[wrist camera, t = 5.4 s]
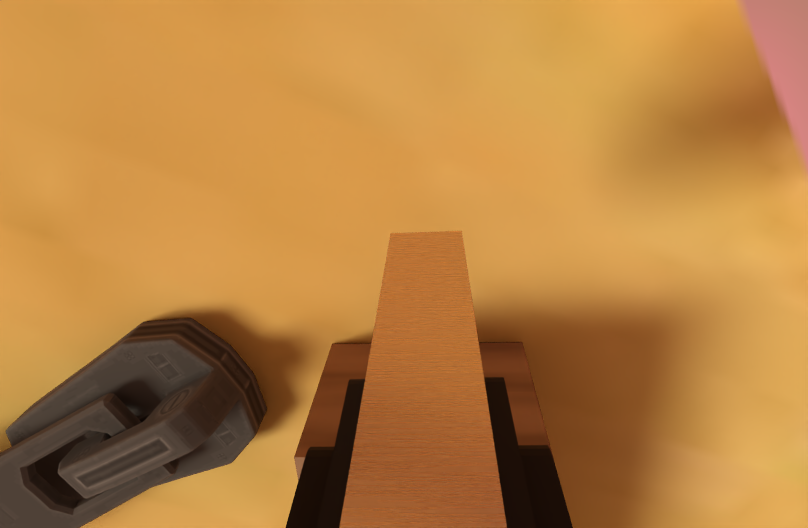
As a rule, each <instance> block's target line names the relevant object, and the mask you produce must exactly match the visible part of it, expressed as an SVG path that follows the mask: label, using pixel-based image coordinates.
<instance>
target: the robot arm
mask: <svg viewBox="0 0 808 528" xmlns="http://www.w3.org/2000/svg"><path fill="white" fill-rule="evenodd" d="M484 381H485V387H486V394H487V401H488V407H489V414H490V420H491V427H492V433H493V440H494V446H495V453H496V459H497V466H498V472H499V479H500V486H501V492H502V499H503V505H504V512H505V518H506V525H507V528H573V527H572V523H571V520H570V516H569V513H568V509H567V506H566V502H565V499H564V495H563V492H562V488H561V485H560V481H559V478H558V474H557V470H556V467H555V463H554V460H553V456H552V453H551V450H550V448H549V447H548V445H518V441H517V436H516V431H515V427H514V422H513V417H512V412H511V408H510V403H509V398H508V394H507V389H506V384H505V380H504V377H484ZM364 383H365V379H350V380H349V382H348V386H347V390H346V395H345V400H344V404H343V409H342V414H341V418H340V423H339V427H338V432H337V437H336V441H335V446H332V447H310V448H309V449H308V451H307V453H306V456H305V460H304V463H303V467H302V470H301V474H300V478H299V481H298V485H297V489H296V492H295V496H294V499H293V503H292V507H291V510H290V514H289V517H288V521H287V525H286V528H339V527H340V521H341V515H342V510H343V504H344V498H345V492H346V487H347V481H348V475H349V470H350V464H351V458H352V452H353V447H354V441H355V435H356V429H357V424H358V418H359V412H360V406H361V401H362V395H363V389H364Z"/></svg>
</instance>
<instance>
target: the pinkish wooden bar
mask: <svg viewBox="0 0 808 528" xmlns="http://www.w3.org/2000/svg"><path fill="white" fill-rule="evenodd" d="M339 528H507V525H506V518H505V512H504V505H503V499H502V492H501V486H500V479H499V472H498V466H497V459H496V453H495V446H494V440H493V433H492V427H491V420H490V414H489V407H488V401H487V394H486V387H485V381H484V374H483V368H482V361H481V355H480V348H479V342H478V335H477V329H476V322H475V316H474V309H473V303H472V296H471V289H470V283H469V276H468V270H467V263H466V257H465V250H464V244H463V237H462V231H445V232H415V233H391V234H390V240H389V246H388V251H387V257H386V263H385V269H384V274H383V280H382V286H381V292H380V297H379V303H378V309H377V315H376V320H375V326H374V332H373V338H372V343H371V349H370V355H369V361H368V366H367V372H366V378H365V383H364V389H363V395H362V401H361V406H360V412H359V418H358V424H357V429H356V435H355V441H354V447H353V452H352V458H351V464H350V470H349V475H348V481H347V487H346V492H345V498H344V504H343V510H342V515H341V521H340V527H339Z"/></svg>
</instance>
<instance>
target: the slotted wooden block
mask: <svg viewBox="0 0 808 528" xmlns="http://www.w3.org/2000/svg"><path fill="white" fill-rule="evenodd" d="M479 348H480V355H481V361H482V368H483V374H484V377H504V380H505V384H506V389H507V394H508V398H509V403H510V408H511V412H512V417H513V422H514V427H515V431H516V436H517V441H518V445H548V447H549V448H550V444H549V440H548V436H547V433H546V429H545V425H544V422H543V418H542V414H541V410H540V407H539V403H538V399H537V396H536V392H535V388H534V384H533V381H532V377H531V373H530V369H529V366H528V362H527V358H526V355H525V351H524V347H523V343H522V342H506V343H479ZM370 349H371V344H332V346H331V349H330V352H329V355H328V358H327V361H326V364H325V367H324V370H323V373H322V376H321V379H320V382H319V385H318V388H317V391H316V394H315V397H314V400H313V403H312V406H311V409H310V412H309V415H308V418H307V421H306V424H305V427H304V430H303V433H302V436H301V439H300V442H299V445H298V448H297V451H296V454H295V456H294V458H295V464H296V469H297V475H298V481H299V478H300V474H301V470H302V467H303V463H304V460H305V456H306V453H307V451H308V449H309V448H310V447H332V446H335V441H336V437H337V432H338V427H339V423H340V418H341V414H342V409H343V404H344V400H345V395H346V390H347V386H348V382H349V380H350V379H365V378H366V372H367V366H368V361H369V355H370ZM550 450H551V448H550ZM551 453H552V451H551ZM552 456H553V455H552ZM553 460H554V459H553Z"/></svg>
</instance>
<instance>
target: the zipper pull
mask: <svg viewBox="0 0 808 528" xmlns="http://www.w3.org/2000/svg"><path fill="white" fill-rule="evenodd" d="M266 410H267V408H266V405H265V402H264V399H263V397H262V394H261V392H260V389H259V386H258V384H257V381H256V378H255V376H254V373H253V372H252V371H251V370H250V368H249V367H248V366H247V365H246V363H245V362H244V361H243V360H242V359H241V357H240V356H239V355H238V354H237V352H236V351H235V350H234V349H233V348H232V346H231V345H229V344H228V343H227V342H225V341H224V340H222V339H221V338H219V337H218V336H216V335H215V334H214V333H212V332H211V331H209V330H208V329H206V328H205V327H204V326H202V325H201V324H199V323H198V322H196V321H195V320H194V319H192V318H184V319H172V320H160V321H148V322H143V323H141V324H140V325H139V326H137V327H136V328H135V329H133V330H132V331H131V332H130V333H128V334H127V335H126V336H124V337H123V338H122V339H121V340H119V341H118V342H117V343H115V344H114V345H113V346H112V347H110V348H109V349H108V350H106V351H105V352H103V353H102V354H101V355H99V356H98V357H97V358H95V359H94V360H93V361H91V362H90V363H88V364H87V365H86V366H84V367H83V368H82V369H80V370H79V371H78V372H76V373H75V374H73V375H72V376H71V377H69V378H68V379H67V380H65V381H64V382H63V383H61V384H60V385H58V386H57V387H56V388H54V389H53V390H52V391H50V392H49V393H48V394H46V395H45V396H43V397H42V398H41V399H40V400H38V401H37V402H36V403H34V404H33V405H32V406H31V407H30V408H29V409H27V410H26V411H25V412H24V413H23V414H22V415H21V416H20V417H19V418H18V419H17V420H16V421H15V422H13V423H12V424H11V425H10V426H9V427H8V428H7V430H6V434H7V436H8V438H9V441H10V443H11V445H12V447H11V448H9V449H7V450H5V451H3V452H0V528H80V527H81V526H83V525H85V524H87V523H89V522H90V521H92V520H94V519H96V518H97V517H99V516H101V515H103V514H105V513H106V512H108V511H110V510H112V509H114V508H115V507H117V506H119V505H121V504H122V503H124V502H126V501H128V500H130V499H131V498H133V497H135V496H137V495H139V494H140V493H142V492H144V491H146V490H147V489H149V488H151V487H154V486H157V485H161V484H164V483H167V482H170V481H173V480H177V479H180V478H183V477H186V476H190V475H193V474H197V473H200V472H203V471H207V470H210V469H214V468H217V467H220V466H224V465H227V464H230V463H232V462H233V461H234V460H235V459H236V458H237V456H238V455H239V454H240V453H241V452H242V451H243V449H244V448H245V447H246V446H247V445H248V444H249V442H250V441H251V440H252V439H253V438H254V436H255V435H256V433H257V430H258V428H259V426H260V424H261V421H262V419H263V417H264V415H265V413H266Z"/></svg>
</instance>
